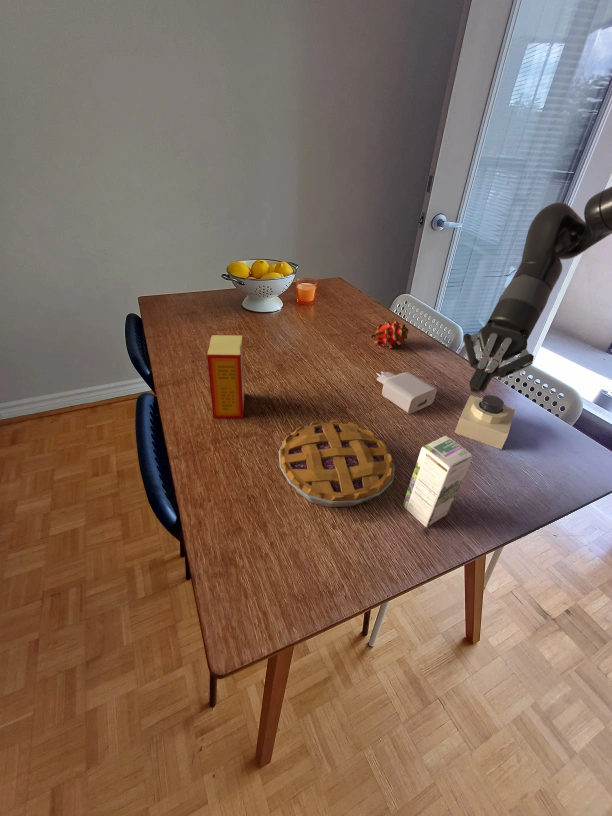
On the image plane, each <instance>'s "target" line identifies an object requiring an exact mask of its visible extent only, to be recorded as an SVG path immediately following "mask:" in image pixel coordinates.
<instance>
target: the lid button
mask: <svg viewBox="0 0 612 816" xmlns="http://www.w3.org/2000/svg"><path fill="white" fill-rule="evenodd" d="M482 398H483V399H482V401H481V404H480V408H481V409H483V410H484V411H486V412H489V413H492V414H499V413H500V412H501V410H502V408H503V405H505V402H504V400H503V399H502V398H500V397H498V396H495V395H491V394H488V395H487V394H486V395H484V396H482Z"/></svg>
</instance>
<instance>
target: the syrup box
mask: <svg viewBox="0 0 612 816" xmlns="http://www.w3.org/2000/svg"><path fill="white" fill-rule="evenodd" d="M473 458H474V455H473V454H471V452H469V451H468V450H467V449H466V448H464V447H463V446H462V445H461V444H459V442H457V441H455V440H454V439H452V438H451V437H449V436H448V435H444V436H442V437H440V438H438V439H435V440H434V441H432V442H429V443H427V444H426V445H423V446H422V447H421V449H420V452H419V454H418V458H417V461H416V465H415V467H414V469H413V473H412V475H411V479H410V482H409V485H408V488H407V491H406V494H405V497H404V500H403V502H402V507H403V508H404V509H405V510H406V511H407V512H409V514H411V515H412V516H413V517H414V518H415V519H416V520H417V521H418V522H420V524H422V525H423V526H424V528H429V527H430V526H432V525H433V524H434V523H437V522H438V521H440V520H441V519H443V518H444V517H446V516H448V514H449V512H450V510H451V508H452V506H453V504H454V501H455V498H456V497H457V494H458V492H459V490H460V488H461V485H462V483H463V482H464V479H465V477H466V474H467V472H468V469H469V468H470V465H471V462H472V461H473Z"/></svg>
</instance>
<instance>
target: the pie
mask: <svg viewBox="0 0 612 816" xmlns="http://www.w3.org/2000/svg"><path fill="white" fill-rule="evenodd" d="M278 458H279V460H278V461H279V469H280V470H281V472H282V473H283V475H284V477H285V478H286V480H287V482H288V484H289V485H290V486H292V487H293V488H294V489H295V491H296V492H297V493H298V494H300V495H301V496H302V497H303V498H305V499H306V500H307V501H309V502H310V503H311V504H315V505H319V506H324V507H328V508H343V507H345V508H347V507H354V506H357V505H359V504H362V503H364V502H367V501H371V500H372V499H374V498H375V497H377V496H380V495H381V494H382V493H383V492H384V491H385V490H387V488H388V487H389V486H390V485H392V484H393V483H394V477H395V471H396V470H395V468H396V465H395V462H394V459H393V454H391V453H390V450H389V448H388V445H387V444H386V443H385V442H384V440H380V439H379V438H378V437H377V436H376V434H375V432H373V431H372V430H371V429H369V428H368V429H364V428H362V427H360V426H359V425H358V423H356V422H353V421H349V422H347V423H343V422H341V421H340V420H339V419H330V421H329V422H322V421H319V420H318V421H317V420H316V421H312V422H311V423H310V424H309V425H306V426H302V425H300V426H298V427H297V428H296V429H295V430H294V431H293V432H291V433H290V434H287V436H286V437H285V438H284V440H283V442H282V444H281V446H280V448H279V449H278Z"/></svg>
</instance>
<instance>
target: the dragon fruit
mask: <svg viewBox="0 0 612 816" xmlns="http://www.w3.org/2000/svg"><path fill="white" fill-rule="evenodd" d="M408 334H409V328H408V327H406V324H405V323H399V322H398V320H396V319H394V320H393V322H392V321H391V320H386V321H385V322H384V323H380V324H378V326H377V328H376V329H375V331H374V332H373V334H372V335H371V339H375V340H374V342H373V343H374V344H375V345H378V346H382V347H384V346H385V347H387V346H388V349H389V350H391V349H393V348H395V347H398V346H402V345H403V344H405V343H406V342H407V341H405V340H406V339H408Z"/></svg>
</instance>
